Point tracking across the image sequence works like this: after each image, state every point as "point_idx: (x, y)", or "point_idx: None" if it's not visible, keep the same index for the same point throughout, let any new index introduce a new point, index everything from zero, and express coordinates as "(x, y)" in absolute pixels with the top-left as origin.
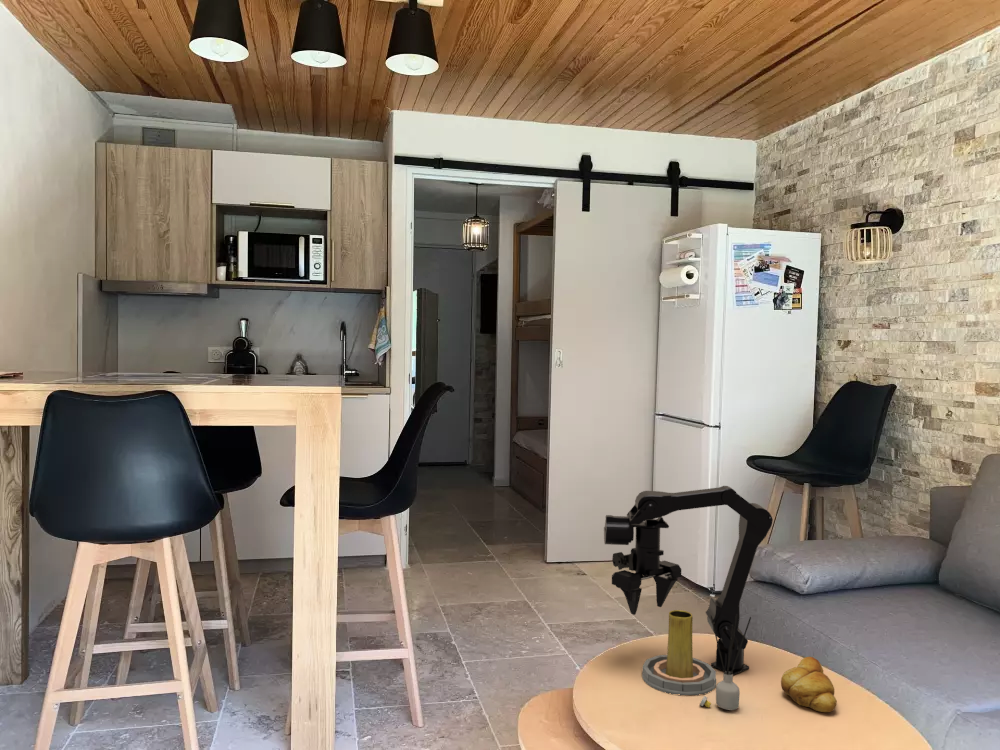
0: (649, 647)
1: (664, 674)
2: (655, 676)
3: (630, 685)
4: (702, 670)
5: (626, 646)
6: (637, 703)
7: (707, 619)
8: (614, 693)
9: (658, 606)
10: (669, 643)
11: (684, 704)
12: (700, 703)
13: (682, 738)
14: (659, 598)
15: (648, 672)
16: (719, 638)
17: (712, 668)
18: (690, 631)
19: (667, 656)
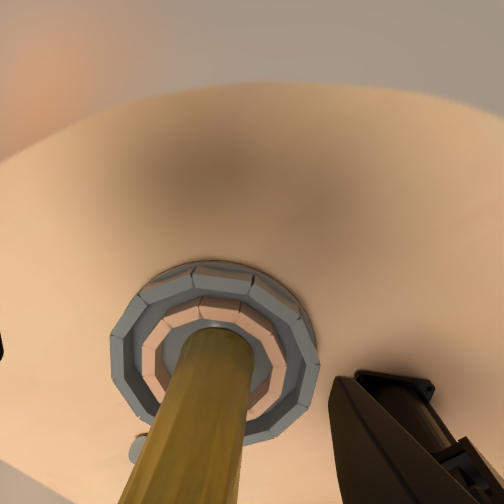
0: (372, 163)
1: (150, 360)
2: (115, 353)
3: (84, 286)
4: (257, 412)
5: (319, 88)
6: (31, 347)
7: (478, 500)
8: (15, 284)
9: (332, 386)
10: (148, 435)
11: (120, 412)
12: (130, 447)
13: (14, 459)
14: (357, 478)
15: (119, 327)
16: (430, 453)
17: (286, 426)
18: None
19: (172, 379)
